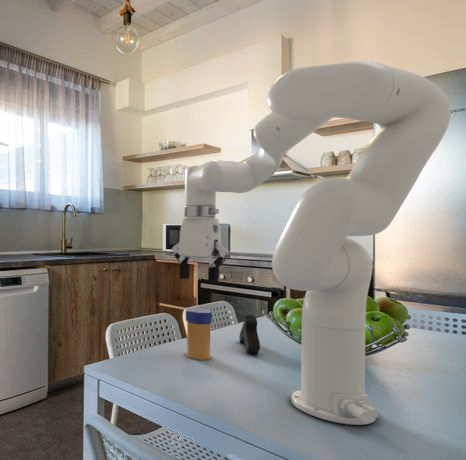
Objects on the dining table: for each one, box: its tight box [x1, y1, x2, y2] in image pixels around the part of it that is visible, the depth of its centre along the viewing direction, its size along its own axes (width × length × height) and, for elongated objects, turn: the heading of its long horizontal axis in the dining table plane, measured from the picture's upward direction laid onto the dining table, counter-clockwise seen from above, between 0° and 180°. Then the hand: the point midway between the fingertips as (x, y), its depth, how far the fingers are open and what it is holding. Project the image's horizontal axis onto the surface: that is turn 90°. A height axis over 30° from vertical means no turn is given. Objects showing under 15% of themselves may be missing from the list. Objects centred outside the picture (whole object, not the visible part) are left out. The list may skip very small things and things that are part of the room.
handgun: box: [238, 313, 261, 355], centre depth 111 cm, size 3×14×10 cm
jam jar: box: [186, 321, 211, 361], centre depth 104 cm, size 6×6×12 cm
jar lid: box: [185, 307, 213, 324], centre depth 104 cm, size 6×6×3 cm
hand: (198, 280), depth 104 cm, fingers open, 8 cm apart
